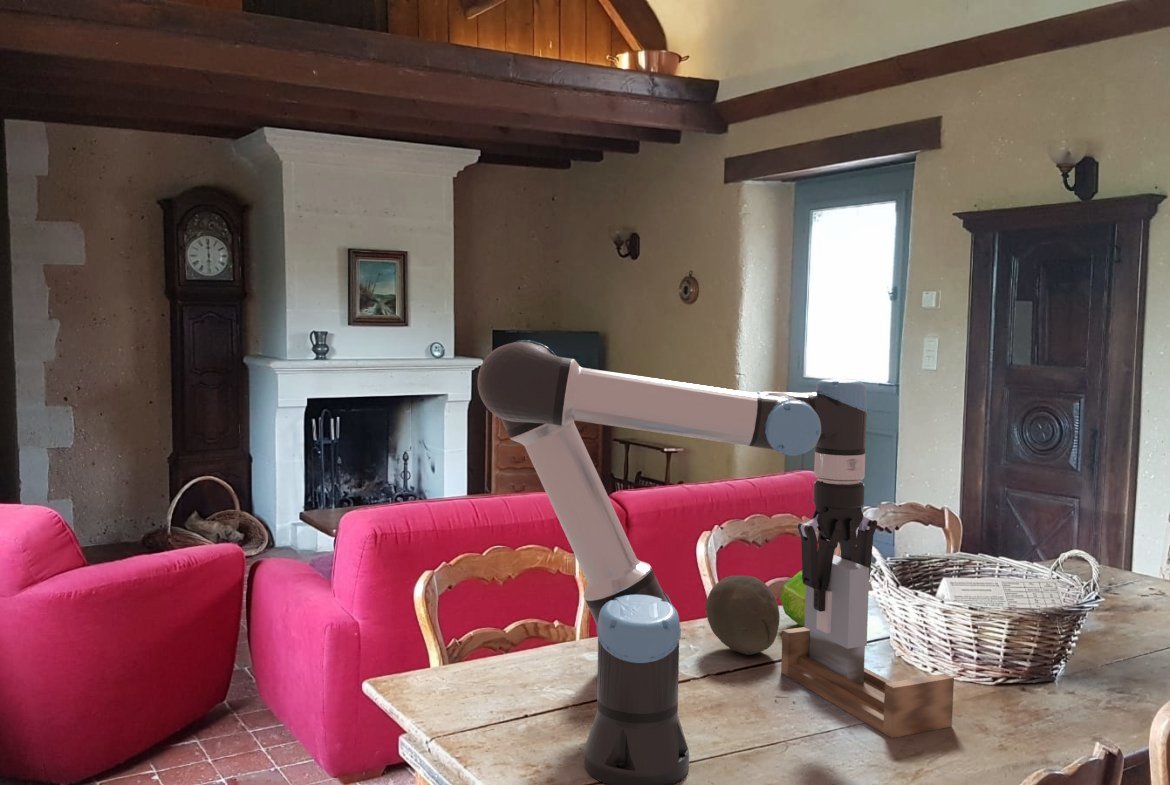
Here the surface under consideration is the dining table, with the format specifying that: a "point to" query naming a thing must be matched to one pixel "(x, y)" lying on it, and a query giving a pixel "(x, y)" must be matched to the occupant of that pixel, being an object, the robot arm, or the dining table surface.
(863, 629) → the gray angular faceted block
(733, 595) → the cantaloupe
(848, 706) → the wooden slotted stand
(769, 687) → the dining table surface
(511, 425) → the robot arm
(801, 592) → the lettuce
